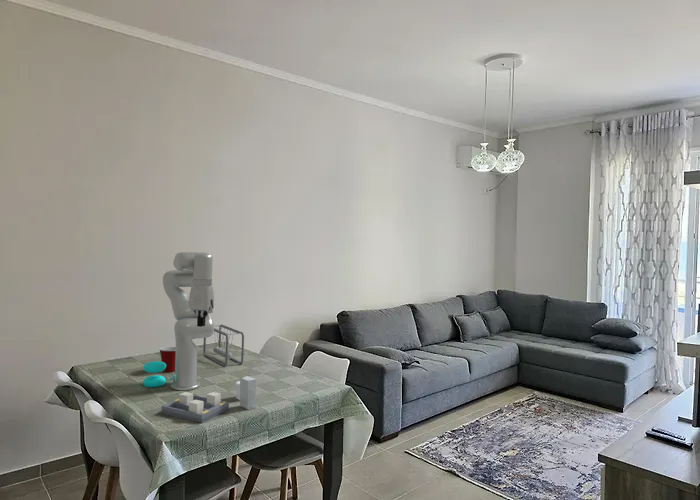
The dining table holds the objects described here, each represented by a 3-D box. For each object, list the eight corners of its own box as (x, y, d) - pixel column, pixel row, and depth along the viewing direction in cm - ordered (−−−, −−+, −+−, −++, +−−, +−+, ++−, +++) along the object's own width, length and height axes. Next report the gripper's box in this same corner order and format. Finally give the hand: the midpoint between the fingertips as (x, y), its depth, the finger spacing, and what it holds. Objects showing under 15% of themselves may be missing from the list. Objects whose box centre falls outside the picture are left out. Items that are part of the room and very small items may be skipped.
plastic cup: (184, 368, 247) (185, 346, 247) (174, 374, 236) (175, 350, 236) (164, 367, 248) (165, 344, 248) (154, 373, 237) (154, 349, 237)
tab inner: (206, 405, 191) (207, 394, 191) (212, 402, 195) (212, 391, 194) (214, 407, 190) (215, 396, 190) (220, 404, 193) (220, 393, 193)
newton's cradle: (202, 355, 275) (203, 325, 275) (219, 353, 282) (220, 323, 282) (225, 367, 253) (226, 334, 252) (243, 364, 259) (244, 332, 259)
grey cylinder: (244, 394, 212) (244, 378, 211) (254, 398, 207) (254, 382, 207) (231, 398, 206) (232, 382, 206) (241, 402, 202) (241, 385, 202)
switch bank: (161, 413, 186) (161, 405, 186) (189, 401, 200) (190, 393, 200) (202, 423, 178) (202, 414, 178) (228, 409, 193) (228, 401, 193)
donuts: (138, 364, 216) (152, 359, 226) (137, 386, 216) (152, 380, 226) (156, 367, 214) (170, 361, 223) (156, 389, 214) (170, 382, 223)
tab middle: (178, 405, 190) (179, 394, 190) (185, 402, 194) (185, 391, 193) (186, 407, 189) (187, 395, 189) (192, 404, 192) (193, 393, 192)
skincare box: (256, 407, 196) (257, 378, 196) (247, 410, 193) (248, 381, 192) (247, 403, 200) (248, 375, 200) (238, 406, 197) (239, 377, 196)
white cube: (188, 413, 182) (189, 402, 182) (195, 410, 185) (195, 399, 185) (196, 415, 180) (197, 404, 180) (203, 412, 183) (203, 401, 183)
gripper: (182, 282, 199) (181, 325, 200) (210, 285, 193) (209, 329, 194) (194, 281, 206) (193, 322, 207) (222, 283, 200) (221, 326, 201)
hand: (201, 325), depth 200 cm, fingers closed
